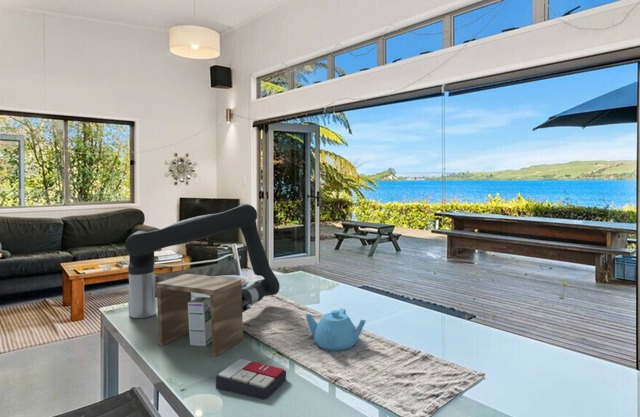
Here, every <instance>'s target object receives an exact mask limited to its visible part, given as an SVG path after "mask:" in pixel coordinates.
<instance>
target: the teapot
mask: <svg viewBox="0 0 640 417" xmlns="http://www.w3.org/2000/svg"><path fill="white" fill-rule="evenodd" d="M305 318H306V320H307V323H308V326H309V329H310V332H311V336H313V340H314V342H315V344H317V346H318V347H319V348H320V349H323V350H327V351H332V352H340V351H345V350H348V349H350V348H352V347H353V346H354V344H356V342H357V341H358V339H359V337H360V335H361V333H362V331H363V329H364V326H365V323H367V322H366V321H367V320H366V319H361V320H360V322H359V323H358V324H357V327H355V324H354V323H353V321H352V320H351V318H350V317H349V316H348V315H347V311H346V308H339V309H338V310H336V309H334V310H331V311H330V312H327V313H325V314H324V315H322V317H321V318H319V321H318V322H317V320H315V318H314V317H313V314H306V315H305Z"/></svg>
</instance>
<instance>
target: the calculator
mask: <svg viewBox="0 0 640 417" xmlns="http://www.w3.org/2000/svg"><path fill="white" fill-rule="evenodd" d="M286 381H287V371H286V370H285V369H284V368H281V367H277V366H274V365H268V364H265V363H262V362H257V361H250V360H246V359H242V358H239V359H238V360H236V361H234V363H232V364H230V365H229V366H228V367H226V368H225V369H223V370H222V371H221V372H220V373H218V374H217V375H216V376H215V389H217V390H221V391H225V392H233V393H236V394H239V395H242V396H246V397H251V398H255V399H260V400H268V398H269V397H270V396H271V395H272V394H274V393H275V391H277V390H278V389H279V388H280V387H281V386H282V385H283V384H284V383H285V382H286Z"/></svg>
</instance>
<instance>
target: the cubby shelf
mask: <svg viewBox="0 0 640 417" xmlns="http://www.w3.org/2000/svg"><path fill="white" fill-rule="evenodd" d="M155 284H156V285H155V287H156V301H157V302H156V304H157V322H158V325H157V326H158V343H159V344H158V345H159V346H162V347H163V346H165V345H167V344H169V343H170V342H173V341H175V340H177V339H178V338H181V337H183V336H185V335H187V334H189V318H188V302H190V301H192V293H193V294H203V295H206V294H208V295H210V296H209V298H210V302H211V330H212V341H211V351H212V352H211V354H212V357H215V358H216V357H218V356H220V355H222V354H223V353H225V352H226V351H228V350H229V349H231V348H233V347H234V346H236V345H238V344H240V343H241V342H242V341H243V340H244V326H243V325H244V324H243V323H244V321H243V313H242V284H241V279H232V278H223V277H214V276H213V275H202V274H194V273H185V274H181V275H178V276H175V277H171V278H168V279H164V280H161V281H159V282H155ZM208 295H207V296H208Z"/></svg>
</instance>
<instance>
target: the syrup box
mask: <svg viewBox="0 0 640 417" xmlns="http://www.w3.org/2000/svg"><path fill="white" fill-rule="evenodd" d="M188 318H189V333H188V334H189V345H190V346H196V347H206V346H207V345H209V344H210V343H212V330H211V302H210V297H209V296H208V297H207V296H200V297H199V296H197V297H195V298H193V299H191V301H190V302H188Z"/></svg>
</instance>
